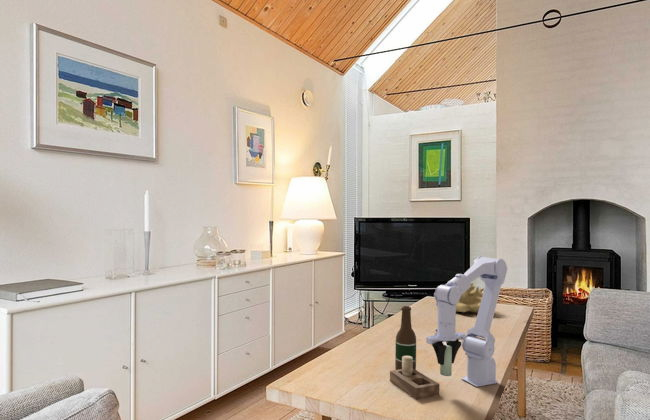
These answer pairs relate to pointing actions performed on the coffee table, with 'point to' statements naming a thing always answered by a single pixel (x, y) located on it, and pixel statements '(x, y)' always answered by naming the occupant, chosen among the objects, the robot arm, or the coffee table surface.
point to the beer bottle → (405, 339)
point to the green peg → (447, 362)
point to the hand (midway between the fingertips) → (445, 363)
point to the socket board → (415, 384)
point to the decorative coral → (470, 300)
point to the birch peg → (407, 365)
